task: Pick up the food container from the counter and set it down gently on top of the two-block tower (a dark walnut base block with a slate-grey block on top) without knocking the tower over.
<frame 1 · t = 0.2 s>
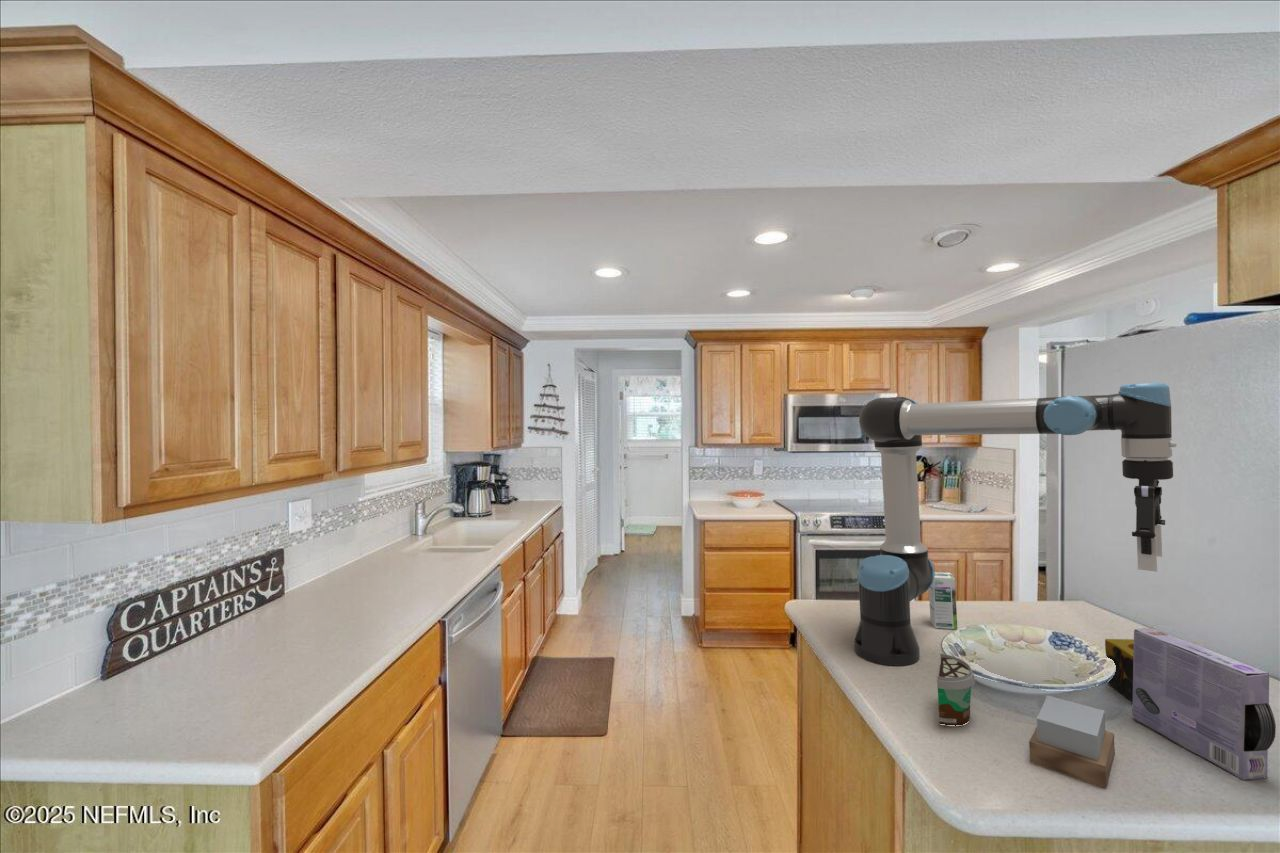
hand: (1150, 562, 110), 28 cm above the worktop, tool pointing down, fingers open, 13 cm apart
slate top block: (1071, 737, 93), point 3 cm above the worktop, touching walnut base block
cake pan box: (1198, 749, 94), on the worktop
walnut base block: (1072, 760, 93), on the worktop, touching slate top block
yellow black cube: (1149, 697, 111), on the worktop
food container: (958, 718, 107), on the worktop
syrup box: (943, 626, 152), on the worktop
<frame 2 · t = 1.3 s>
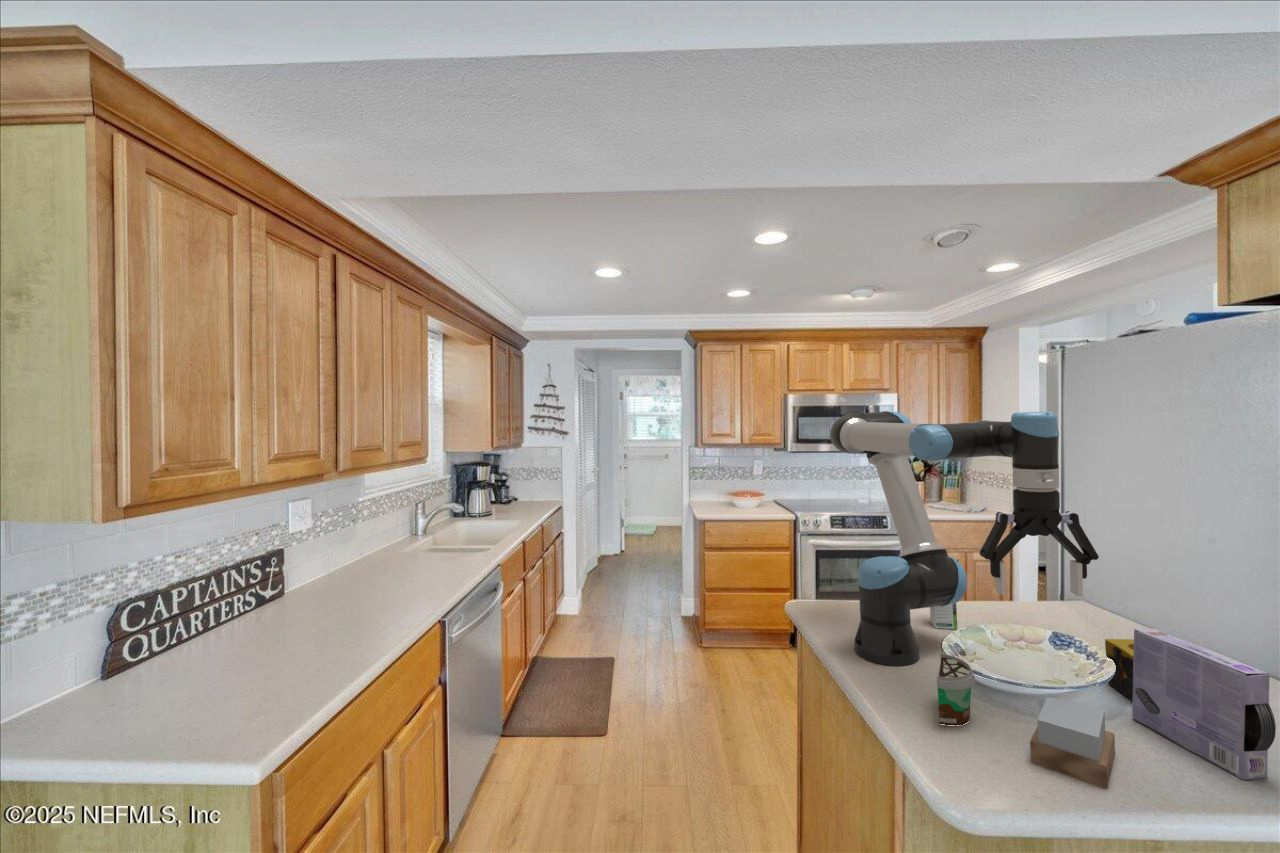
hand: (1038, 593, 109), 23 cm above the worktop, tool pointing down, fingers open, 13 cm apart
slate top block: (1072, 738, 93), point 4 cm above the worktop
walnut base block: (1073, 760, 93), on the worktop
everything else where it was.
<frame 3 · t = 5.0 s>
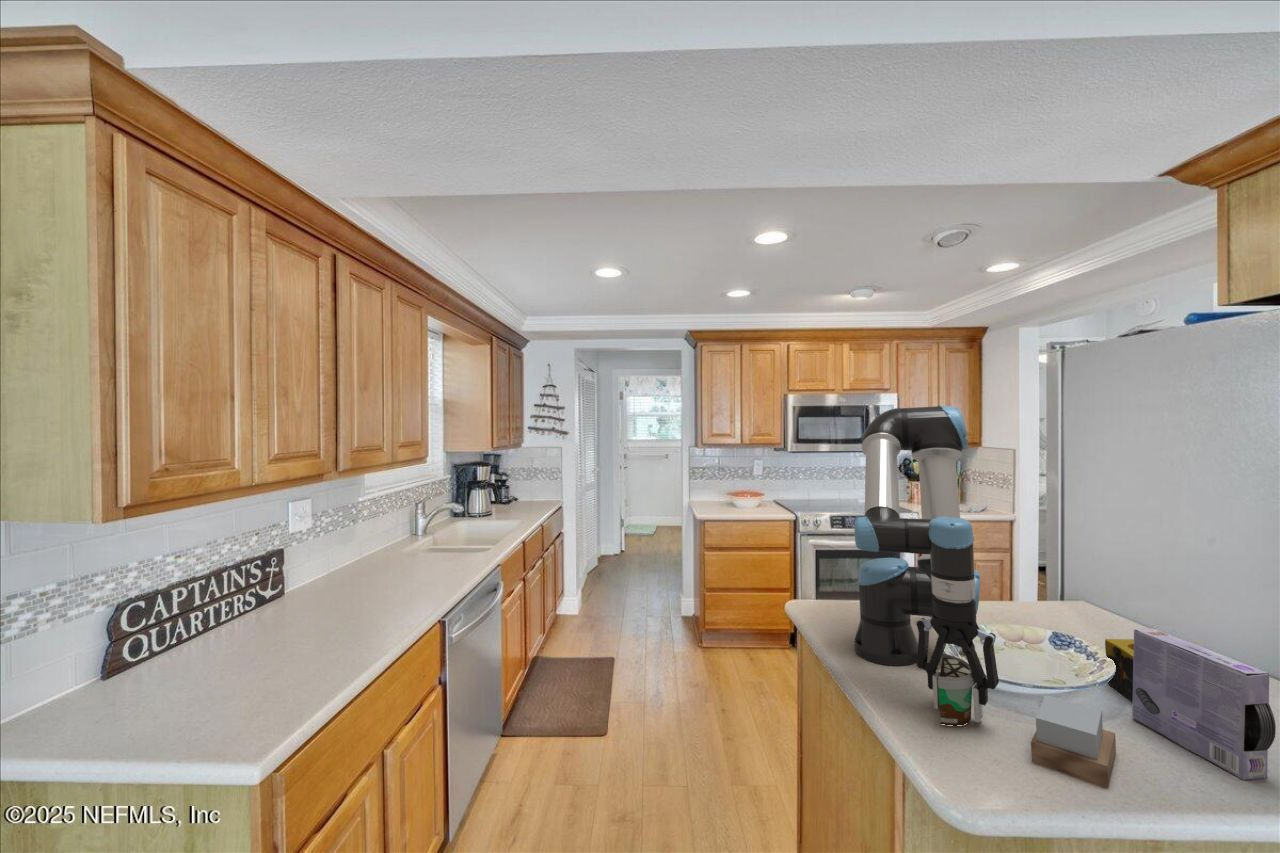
hand: (957, 712, 107), 1 cm above the worktop, tool pointing down, fingers closed on food container, 6 cm apart
slate top block: (1070, 736, 94), point 3 cm above the worktop, touching walnut base block
walnut base block: (1074, 760, 94), on the worktop, touching slate top block
food container: (959, 718, 107), on the worktop, touching gripper
everything else where it was.
when the fingers open (10 cm above the worktop, at t = 10.1 s): food container drops 2 cm, point 7 cm above the worktop.
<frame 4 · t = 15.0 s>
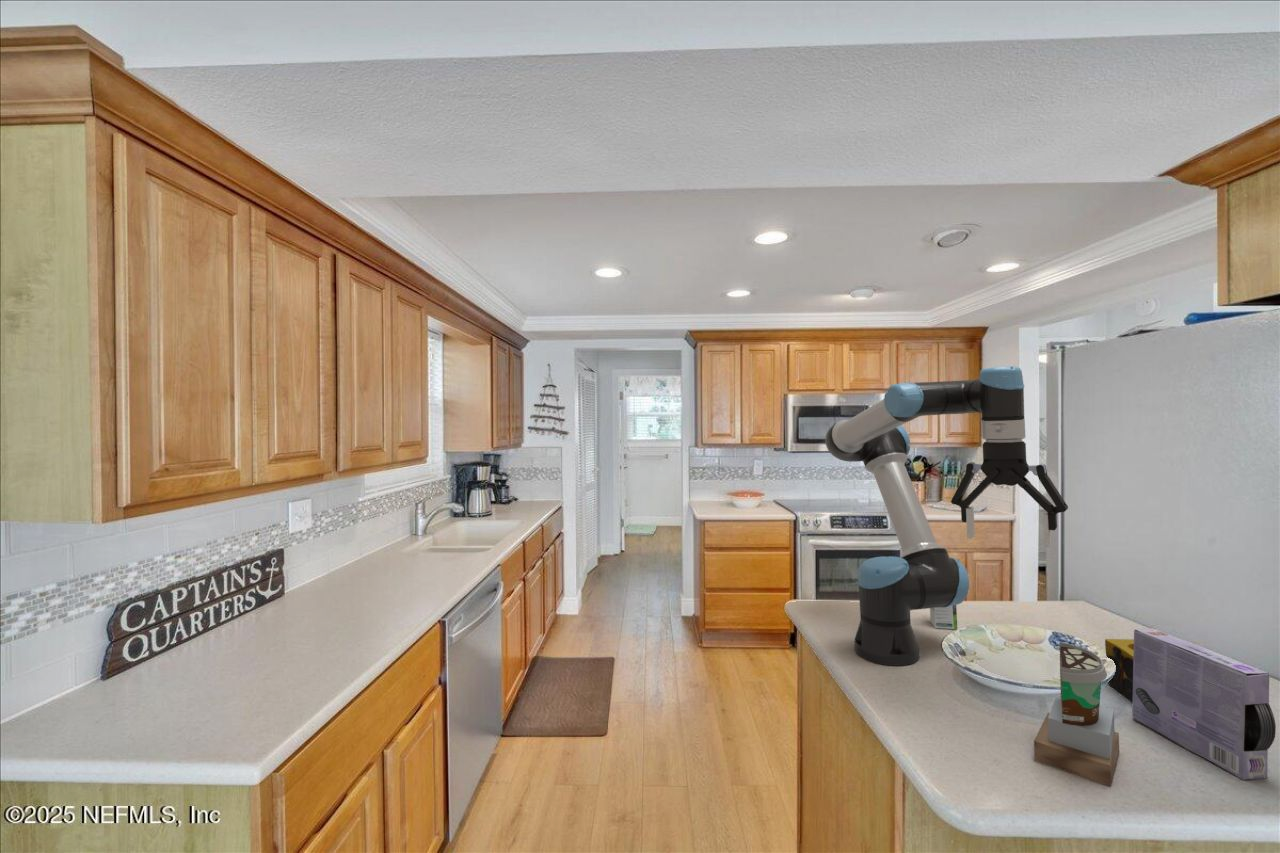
hand: (1007, 541, 113), 33 cm above the worktop, tool pointing down, fingers open, 13 cm apart
slate top block: (1082, 736, 94), point 3 cm above the worktop, touching walnut base block
food container: (1084, 716, 93), point 7 cm above the worktop
everything else where it was.
at the end: food container 0.6 cm off-centre on the slate top block, point 3.9 cm above the slate top block's base; slate top block 1.0 cm off-centre on the walnut base block, point 4.0 cm above the walnut base block's base; food container tilted 1° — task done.
